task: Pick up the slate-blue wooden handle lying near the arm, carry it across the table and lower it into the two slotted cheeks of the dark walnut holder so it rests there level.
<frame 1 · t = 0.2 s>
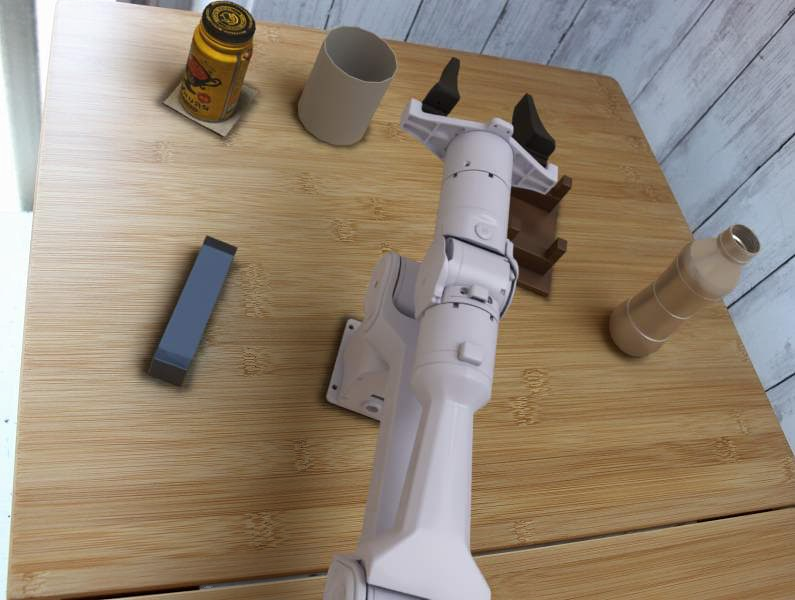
hand: (487, 83, 76), 21 cm above the table, tool horizontal, fingers open, 7 cm apart
plastic bottle: (624, 338, 96), on the table
handle: (191, 317, 76), on the table
cup: (331, 118, 97), on the table
condiment: (211, 100, 91), on the table
holder: (518, 231, 99), on the table
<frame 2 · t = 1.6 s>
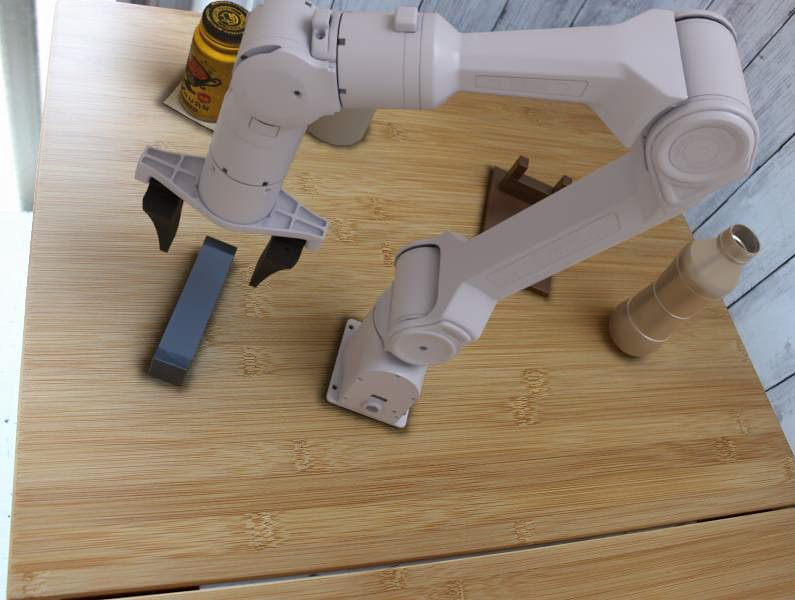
hand: (212, 260, 69), 9 cm above the table, tool pointing down, fingers open, 7 cm apart
nothing on the table moved.
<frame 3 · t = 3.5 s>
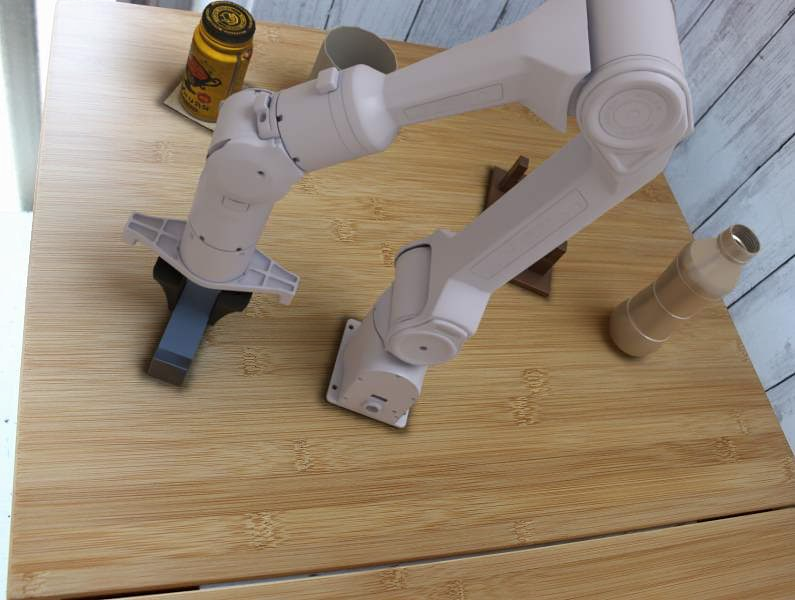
hand: (194, 309, 75), 1 cm above the table, tool pointing down, fingers closed on handle, 3 cm apart
handle: (191, 317, 76), on the table, touching gripper
everything else where it was.
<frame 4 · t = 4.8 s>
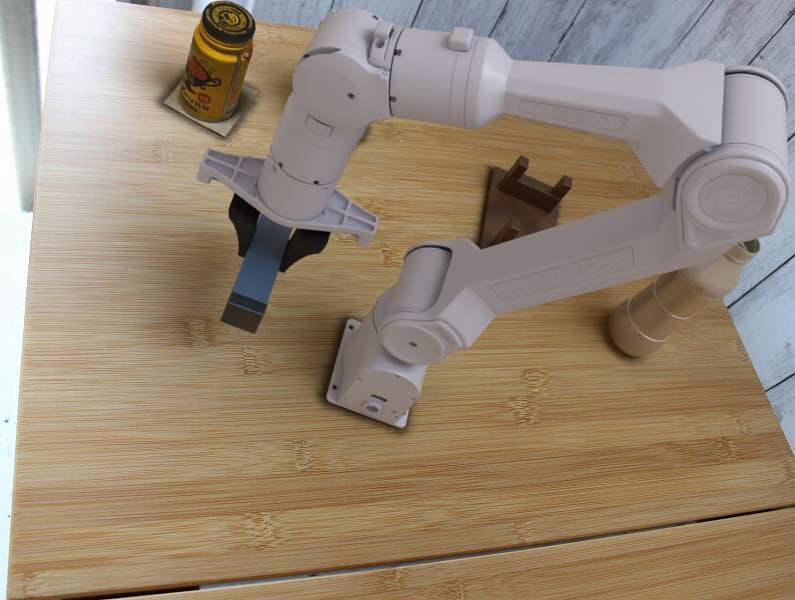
hand: (264, 256, 73), 8 cm above the table, tool pointing down, fingers closed on handle, 3 cm apart
handle: (259, 264, 74), point 7 cm above the table, touching gripper
everything else where it was.
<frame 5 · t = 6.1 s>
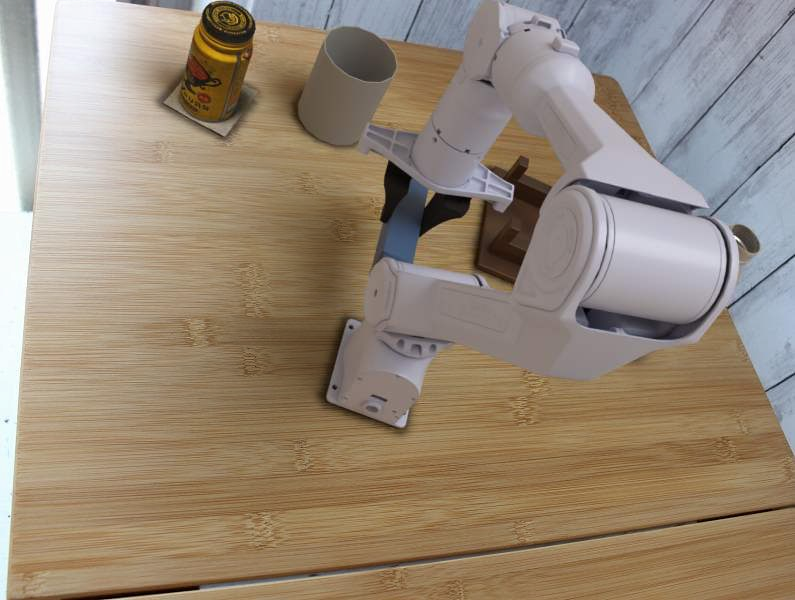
hand: (401, 222, 81), 8 cm above the table, tool pointing down, fingers closed on handle, 3 cm apart
handle: (396, 229, 82), point 7 cm above the table, touching gripper
everything else where it was.
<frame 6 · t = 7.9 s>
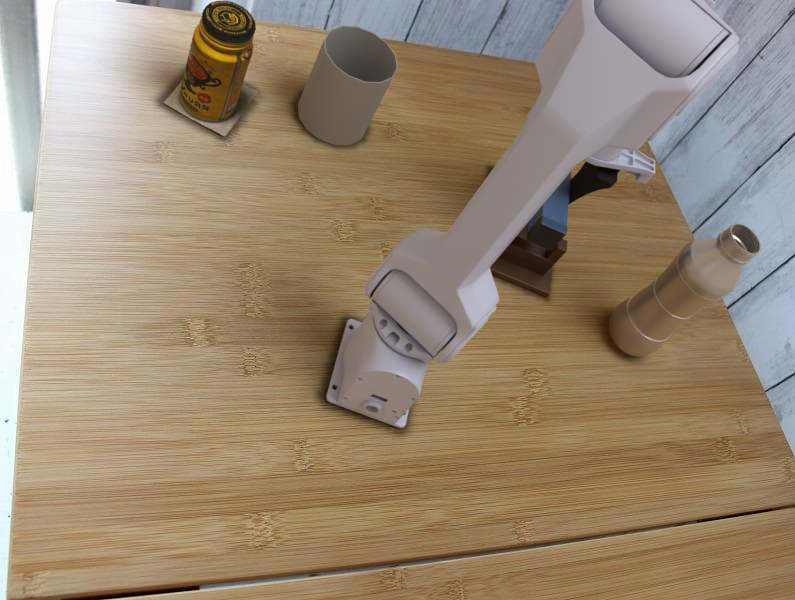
hand: (549, 193, 93), 7 cm above the table, tool pointing down, fingers closed on handle, 3 cm apart
handle: (543, 199, 94), point 6 cm above the table, touching gripper
everything else where it was.
when the fingers open (5 cm above the table, at t = 9.0 s): handle stays where it is, resting on holder.
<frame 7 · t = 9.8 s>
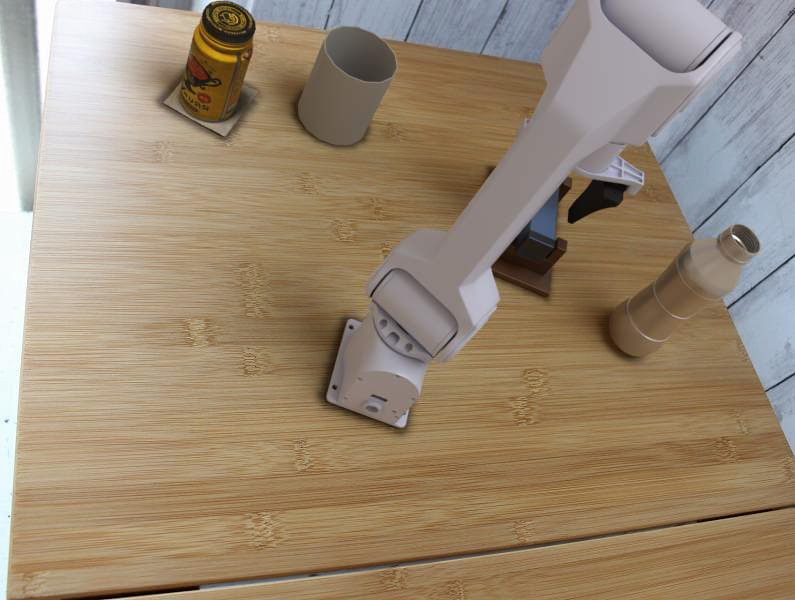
hand: (540, 204, 95), 5 cm above the table, tool pointing down, fingers open, 7 cm apart
handle: (532, 213, 96), point 3 cm above the table, touching holder
everything else where it was.
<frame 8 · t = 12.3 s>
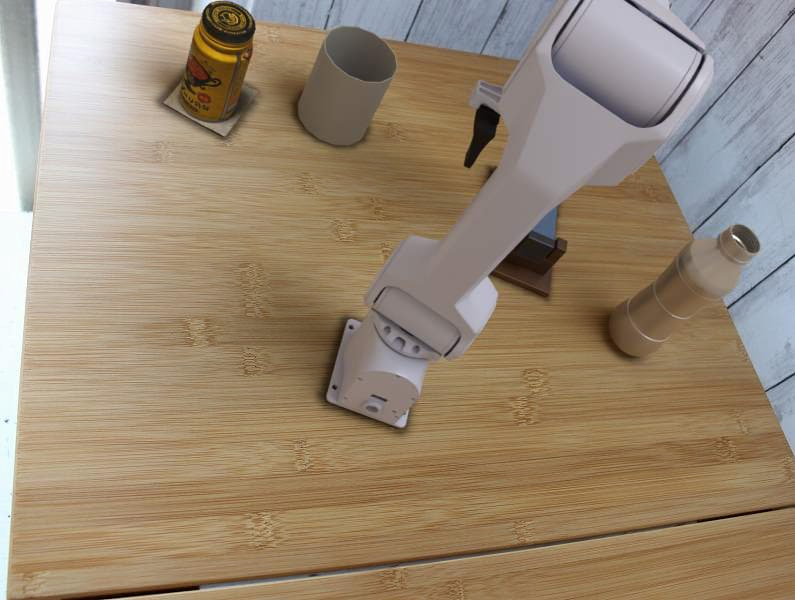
hand: (500, 175, 88), 9 cm above the table, tool pointing down, fingers open, 7 cm apart
nothing on the table moved.
at the end: handle 0.1 cm off-centre on the holder, point 3.4 cm above the holder's base; handle tilted 0°; the gripper is holding nothing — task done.
